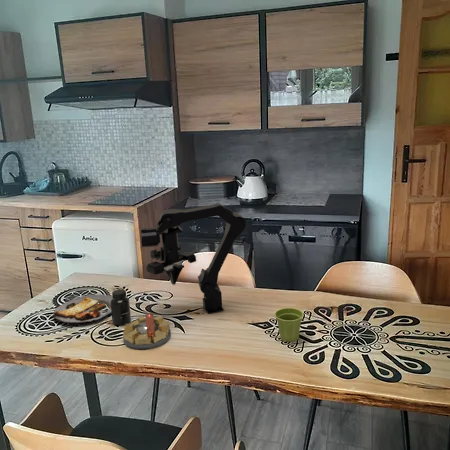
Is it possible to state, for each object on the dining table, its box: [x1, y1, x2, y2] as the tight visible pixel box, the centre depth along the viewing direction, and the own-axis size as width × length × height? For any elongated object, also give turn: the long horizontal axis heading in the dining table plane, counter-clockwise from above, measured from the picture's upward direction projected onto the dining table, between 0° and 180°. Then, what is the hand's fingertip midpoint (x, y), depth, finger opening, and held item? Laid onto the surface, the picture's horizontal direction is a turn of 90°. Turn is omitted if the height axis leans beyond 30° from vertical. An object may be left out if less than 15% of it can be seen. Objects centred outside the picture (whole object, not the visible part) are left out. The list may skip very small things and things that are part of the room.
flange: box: [122, 322, 172, 351], centre depth 155 cm, size 16×16×5 cm
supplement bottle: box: [110, 289, 132, 327], centre depth 166 cm, size 7×7×12 cm
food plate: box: [52, 294, 113, 324], centre depth 177 cm, size 25×23×4 cm
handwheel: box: [122, 312, 171, 345], centre depth 154 cm, size 15×15×10 cm
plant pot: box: [274, 307, 304, 343], centre depth 150 cm, size 9×9×9 cm
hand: (173, 284), depth 169 cm, fingers closed
